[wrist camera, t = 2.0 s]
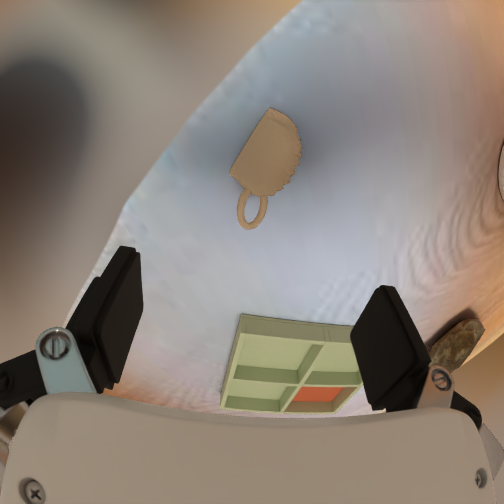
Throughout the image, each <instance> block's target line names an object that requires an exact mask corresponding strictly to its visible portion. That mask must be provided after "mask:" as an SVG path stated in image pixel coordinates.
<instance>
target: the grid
mask: <svg viewBox="0 0 504 504" xmlns="http://www.w3.org/2000/svg"><path fill="white" fill-rule="evenodd" d="M353 327H354V326H342V325H330V324H320V323H310V322H301V321H292V320H283V319H275V318H267V317H260V316H252V315H245V314H241V317H240V321H239V325H238V328H237V332H236V336H235V340H234V344H233V348H232V352H231V356H230V360H229V364H228V367H227V371H226V375H225V379H224V383H223V387H222V391H221V396H220V409H228V410H237V411H248V412H262V413H283V414H333V413H336V412H337V411H338V410H339V409H340V408H341V407H342V406H343V405H344V404H345V403H346V402H347V401H348V400H349V399H350V398H351V397H352V396H353V395H354V394H355V393H356V392H357V391H358V390H359V389H360V388H361V386H362V385H363V381H362V378H361V374H360V371H359V367H358V364H357V360H356V357H355V353H354V350H353V347H352V343H351V340H350V333H351V330H352V329H353Z"/></svg>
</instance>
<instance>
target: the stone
mask: <svg viewBox="0 0 504 504" xmlns="http://www.w3.org/2000/svg"><path fill="white" fill-rule="evenodd" d="M484 331H485V329H484V327H483V325H482V323H481V322H480V321H479V319H464V320H463V321H462V322H460V323H458V324H457V325H456V326H455V327H454V328H451V329H450V330H449V331H448V332H447V333H446V334H445V335H444V336H442V337H441V339H439V340H438V341H436V343H434V345H433V347H432V349H431V351H430V352H429V353H428V354H429V356H430V358H431V360H432V362H431V363H430V364H429V365H428V366H429V368H431V367H432V366H435V365H438V366H442V367H444V368H445V369H447V370H448V371H449V372H450V374H451V373H452V372H453V371H454V370H456V369H457V368H459V367H460V366H461V365H462V364H463V362H464V361H465V360H466V358H467V357H468V356H469V355H470V354H471V352H472V350H473V349H474V347H475V345H476V344H477V342H478V341H479V340H480V338H481V336H482V335H483V333H484Z"/></svg>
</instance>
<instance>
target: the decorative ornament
mask: <svg viewBox="0 0 504 504" xmlns="http://www.w3.org/2000/svg"><path fill="white" fill-rule="evenodd" d="M300 140H301V139H300V138H299V136H298V133H297V127H296V126H295V125H294V123H293V122H292V120H291V119H289V118H288V117H287V116H286V115H284V114H282V113H280V112H278V111H276V110H275V109H272V108H269V109H268V110H267V112H266V113H265V114H264V116H263V117H262V119H261V120H260V122H259V123H258V125H257V126H256V128H255V129H254V131H253V133H252V134H251V136H250V138H249V139H248V141H247V143H246V144H245V146H244V148H243V149H242V151H241V153H240V154H239V156H238V157H237V159H236V161H235V162H234V164H233V166H232V167H231V169H230V172H229V174H230V175H231V176H232V177H234V178H235V179H237V181H238V182H239V184H240V185H241V186H242V187H243V188H244V190H243V191H242V193H241V195H240V198H239V200H238V205H237V217H238V221H239V223H240V225H241V226H242V227H243V228H245V229H253V228H255V227H257V226H258V225H259V224H260V222H261V221H262V219H263V218H264V216H265V213H266V209H267V204H268V197H267V196H273V195H274V194H275V193H276V192H277V191H280V190H282V189H283V186H284V185H285V184H288V183H290V177H291V175H295V174H296V171H295V168H296V166H299V158H300V157H302V155H301V149H302V146H301V143H300ZM250 194H253V195H255V196H259V197H260V206H259V211H258V214H257V216H256V218H255V219H254V221H252V222H251V223H247V221H246V220H245V217H244V208H245V204H246V201H247V199H248V197H249V195H250Z"/></svg>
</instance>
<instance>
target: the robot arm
mask: <svg viewBox="0 0 504 504" xmlns="http://www.w3.org/2000/svg"><path fill="white" fill-rule="evenodd" d="M499 188H500V193H501V196H502V199H503V201H504V145H503V148H502V152H501V157H500V163H499ZM142 312H143V294H142V280H141V261H140V253H138V252H136V249H135V248H133V247H127V246H120V247H119V248H118V250H117V251H116V253H115V254H114V256H113V257H112V259H111V261H110V262H109V264H108V265H107V267H106V269H105V270H104V272H103V274H102V275H101V277H95V278H94V279H93V281H92V282H91V284H90V286H89V287H88V289H87V291H86V292H85V294H84V296H83V297H82V299H81V301H80V303H79V304H78V306H77V308H76V310H75V311H74V313H73V315H72V317H71V319H70V321H69V322H68V324H67V326H66V328H62V327H54V328H50V329H47V330H46V331H44V332H43V333H42V334H40V336H39V337H38V339H37V341H36V345H35V350H33V351H30V352H28V353H26V354H23V355H21V356H18V357H16V358H14V359H11V360H8V361H6V362H4V363H1V364H0V504H497V502H496V495H495V490H494V485H493V480H494V478H495V477H496V475H497V473H498V471H499V468H500V467H501V464H502V463H503V460H504V449H503V447H502V446H501V444H500V443H499V442H498V441H497V439H496V438H495V437H494V436H493V434H492V433H491V432H490V430H489V429H488V428H487V427H486V426H485V424H482V418H481V414H480V411H479V410H478V408H477V407H476V406H475V405H473V404H472V403H470V402H469V401H468V400H466V399H465V398H464V397H462V396H461V395H459V394H458V393H457V392H455V391H454V380H453V377H452V375H451V374H450V372H449V371H448V370H447V369H445V368H444V367H442V366H438V365H435V366H432V367H431V368H429V366H428V365H429V364H430V363H431V362H432V360H431V358H430V356H429V354H428V351H427V349H426V347H425V345H424V343H423V341H422V339H421V337H420V335H419V333H418V331H417V328H416V326H415V324H414V323H413V321H412V319H411V317H410V315H409V313H408V311H407V309H406V307H405V305H404V303H403V301H402V300H401V298H400V296H399V294H398V292H397V290H396V289H395V287H393V286H386V285H381V286H380V287H379V288H377V289H375V291H374V293H373V295H372V296H371V298H370V300H369V302H368V303H367V305H366V307H365V309H364V310H363V312H362V314H361V315H360V317H359V319H358V320H357V322H356V324H355V325H354V327H353V329H352V330H351V333H350V340H351V343H352V347H353V350H354V353H355V357H356V360H357V364H358V367H359V371H360V374H361V378H362V381H363V385H364V389H365V393H366V396H367V400H368V403H369V404H371V406H372V410H373V411H375V410H383V409H384V408H386V413H380V414H371V415H361V416H348V417H331V418H262V417H245V416H232V415H221V414H212V413H204V412H197V411H190V410H183V409H177V408H171V407H165V406H159V405H154V404H148V403H143V402H139V401H134V400H129V399H124V398H119V397H114V396H109V395H104V394H101V393H103V390H104V388H107V389H111V390H112V389H113V386H114V383H119V381H120V378H121V375H122V372H123V369H124V365H125V362H126V359H127V356H128V353H129V350H130V347H131V344H132V341H133V338H134V335H135V332H136V329H137V326H138V324H139V321H140V318H141V315H142ZM481 424H482V425H481ZM16 430H17V431H16ZM13 436H14V439H13V442H12V445H11V449H10V452H9V449H8V446H9V442H10V440H11V439H12V437H13Z"/></svg>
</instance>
